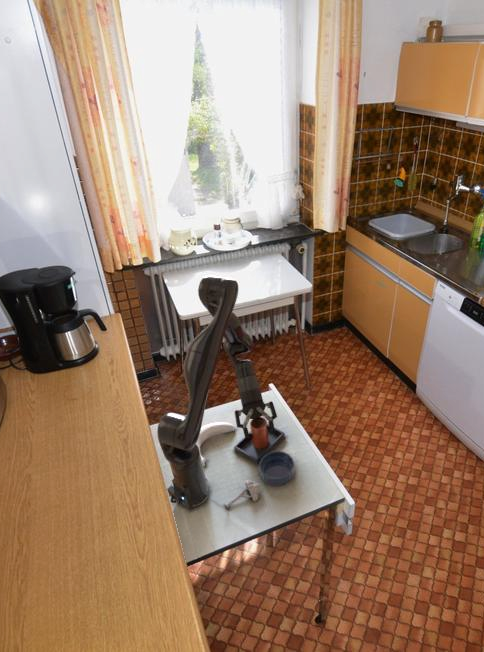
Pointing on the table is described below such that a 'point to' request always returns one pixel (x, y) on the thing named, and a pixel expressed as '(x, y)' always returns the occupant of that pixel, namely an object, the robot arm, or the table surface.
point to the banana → (212, 433)
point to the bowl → (276, 468)
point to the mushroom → (253, 489)
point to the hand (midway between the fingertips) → (260, 435)
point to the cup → (259, 432)
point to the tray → (255, 454)
